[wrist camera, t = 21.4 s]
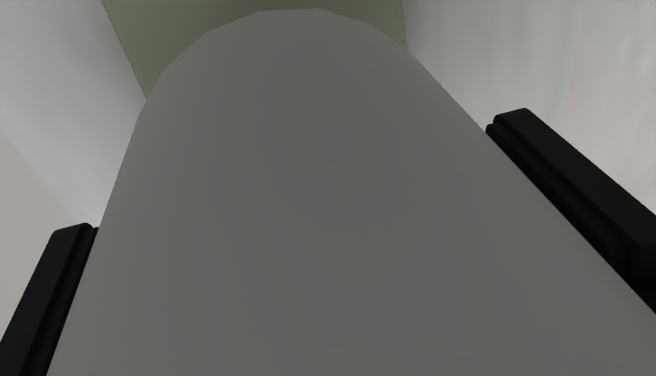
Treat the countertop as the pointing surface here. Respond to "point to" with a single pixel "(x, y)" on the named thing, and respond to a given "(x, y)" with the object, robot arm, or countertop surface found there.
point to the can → (334, 228)
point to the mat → (217, 25)
